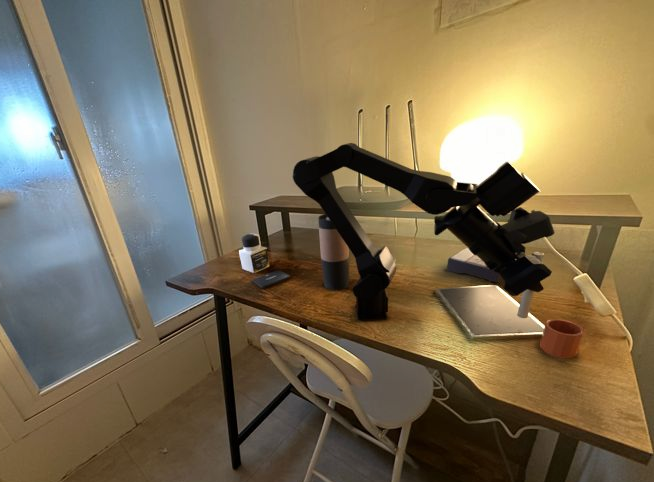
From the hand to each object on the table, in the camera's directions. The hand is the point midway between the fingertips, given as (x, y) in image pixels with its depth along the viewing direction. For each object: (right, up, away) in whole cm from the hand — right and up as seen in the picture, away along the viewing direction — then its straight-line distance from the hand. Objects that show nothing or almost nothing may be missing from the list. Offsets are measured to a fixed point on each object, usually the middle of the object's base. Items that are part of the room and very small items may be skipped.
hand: (538, 288), depth 55 cm
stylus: (-1, -6, +3) cm, 6 cm away
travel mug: (-31, 0, +32) cm, 44 cm away
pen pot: (+2, -11, -2) cm, 11 cm away
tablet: (-2, -5, +11) cm, 13 cm away
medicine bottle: (-56, +6, +51) cm, 76 cm away
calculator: (+9, +4, +28) cm, 29 cm away
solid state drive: (-50, +1, +40) cm, 64 cm away
